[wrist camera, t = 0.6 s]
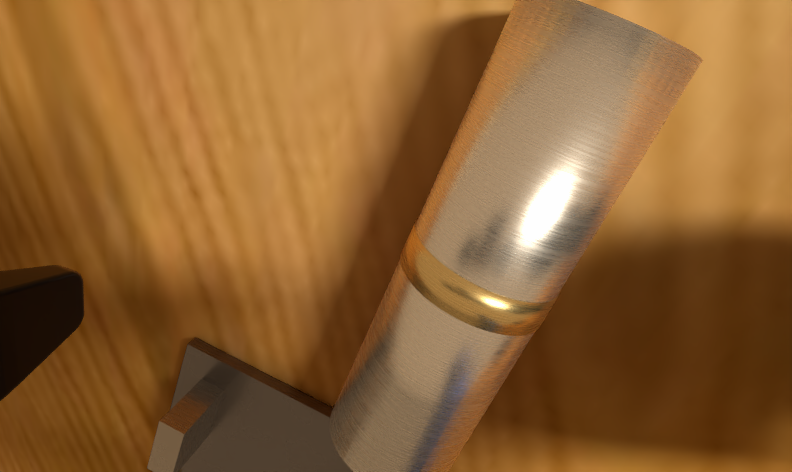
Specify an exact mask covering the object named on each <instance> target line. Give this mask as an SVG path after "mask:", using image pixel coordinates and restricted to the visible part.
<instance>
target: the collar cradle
mask: <svg viewBox="0 0 792 472" xmlns="http://www.w3.org/2000/svg"><path fill="white" fill-rule="evenodd" d="M332 410H333V408H331V407H329V406H327V405H326V404H324V403H322V402H320V401H318V400H316V399H314V398H312V397H310V396H308V395H306V394H304V393H302V392H300V391H298V390H296V389H294V388H293V387H291V386H289V385H287V384H285V383H283V382H281V381H279V380H277V379H275V378H273V377H271V376H269V375H267V374H265V373H263V372H261V371H259V370H258V369H256V368H254V367H252V366H250V365H248V364H246V363H244V362H242V361H240V360H238V359H236V358H234V357H232V356H230V355H228V354H226V353H225V352H223V351H221V350H219V349H217V348H215V347H213V346H211V345H209V344H207V343H205V342H203V341H201V340H199V339H197V338H194V339H193V340H192V341H191V342H190V343H188V345H187V348H186V352H185V356H184V360H183V363H182V367H181V371H180V375H179V378H178V382H177V386H176V390H175V393H174V397H173V401H172V405H171V408H170V411H169V412H168V413H167V414H166V415H165V416H164V417H163V418H162V419H161V420H160V421H159V424H158V428H157V432H156V435H155V439H154V443H153V447H152V451H151V455H150V459H149V463H148V466H147V469H149V470H151V471H153V472H353V471H352V470H351V469H350V468H349V467H348V466H347V464H346V463H345V462H344V461H343V459H342V458H341V456H340V455H339V454H338V452H337V450H336V448H335V446H334V443H333V440H332V437H331V432H330V417H331V413H332Z"/></svg>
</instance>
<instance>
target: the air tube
mask: <svg viewBox="0 0 792 472" xmlns="http://www.w3.org/2000/svg"><path fill="white" fill-rule="evenodd" d="M702 61H703V60H702V58H701V57H699V56H698V55H697V54H695V53H693V52H692V51H690V50H688V49H687V48H685V47H683V46H681V45H679V44H677V43H675V42H673V41H671V40H669V39H667V38H665V37H663V36H661V35H659V34H657V33H655V32H652V31H650V30H648V29H646V28H644V27H641V26H639V25H637V24H635V23H632V22H630V21H628V20H625V19H623V18H620V17H618V16H616V15H613V14H611V13H608V12H606V11H603V10H601V9H598V8H596V7H593V6H591V5H588V4H585V3H583V2H580V1H577V0H516V1H515V3H514V5H513V8H512V10H511V12H510V14H509V17H508V19H507V21H506V23H505V26H504V28H503V30H502V32H501V34H500V37H499V39H498V41H497V43H496V46H495V48H494V50H493V52H492V55H491V57H490V59H489V61H488V64H487V66H486V68H485V70H484V72H483V75H482V77H481V79H480V81H479V84H478V86H477V88H476V90H475V93H474V95H473V97H472V99H471V102H470V104H469V106H468V108H467V110H466V113H465V115H464V117H463V119H462V122H461V124H460V126H459V128H458V131H457V133H456V135H455V137H454V140H453V142H452V144H451V146H450V149H449V151H448V153H447V155H446V157H445V160H444V162H443V164H442V166H441V169H440V171H439V173H438V175H437V178H436V180H435V182H434V184H433V187H432V189H431V191H430V193H429V195H428V198H427V200H426V202H425V204H424V207H423V209H422V211H421V213H420V216H419V218H418V219H416V221H415V223H414V225H413V227H412V230H411V232H410V234H409V236H408V239H407V241H406V243H405V245H404V248H403V250H402V252H401V255H400V260H399V263H398V265H397V267H396V269H395V272H394V274H393V276H392V278H391V280H390V283H389V285H388V287H387V289H386V292H385V294H384V296H383V298H382V301H381V303H380V305H379V307H378V310H377V312H376V314H375V316H374V319H373V321H372V323H371V325H370V327H369V330H368V332H367V334H366V336H365V339H364V341H363V343H362V345H361V348H360V350H359V352H358V354H357V357H356V359H355V361H354V363H353V365H352V368H351V370H350V372H349V374H348V377H347V379H346V381H345V383H344V386H343V388H342V390H341V392H340V395H339V397H338V399H337V401H336V404H335V406H334V408H333V410H332V413H331V417H330V432H331V437H332V440H333V443H334V446H335V448H336V450H337V452H338V454H339V455H340V456H341V458H342V459H343V461H344V462H345V463H346V464H347V466H348V467H349V468H350V469H351V470H352V471H353V472H448V471H449V470H450V468H451V466H452V465H453V463H454V462H455V460H456V458H457V457H458V455H459V454H460V452H461V450H462V449H463V447H464V445H465V444H466V442H467V441H468V439H469V437H470V436H471V434H472V433H473V431H474V429H475V428H476V426H477V424H478V423H479V421H480V420H481V418H482V416H483V415H484V413H485V412H486V410H487V408H488V407H489V405H490V404H491V402H492V400H493V399H494V397H495V395H496V394H497V392H498V391H499V389H500V387H501V386H502V384H503V383H504V381H505V379H506V378H507V376H508V374H509V373H510V371H511V370H512V368H513V366H514V365H515V363H516V362H517V360H518V358H519V357H520V355H521V353H522V352H523V350H524V349H525V347H526V345H527V344H528V342H529V341H530V339H531V337H532V336H533V334H534V332H535V331H537V329H538V328H539V327H540V326H541V324H542V323H543V321H544V319H545V318H546V316H547V315H548V313H549V311H550V310H551V308H552V307H553V305H554V303H555V302H556V300H557V299H558V297H559V295H560V290H561V289H562V287H563V286H564V284H565V282H566V281H567V279H568V278H569V276H570V274H571V273H572V271H573V269H574V268H575V266H576V265H577V263H578V261H579V260H580V258H581V257H582V255H583V253H584V252H585V250H586V248H587V247H588V245H589V244H590V242H591V240H592V239H593V237H594V236H595V234H596V232H597V231H598V229H599V227H600V226H601V224H602V223H603V221H604V219H605V218H606V216H607V215H608V213H609V211H610V210H611V208H612V206H613V205H614V203H615V202H616V200H617V198H618V197H619V195H620V194H621V192H622V190H623V189H624V187H625V185H626V184H627V182H628V181H629V179H630V177H631V176H632V174H633V173H634V171H635V169H636V168H637V166H638V164H639V163H640V161H641V160H642V158H643V156H644V155H645V153H646V152H647V150H648V148H649V147H650V145H651V143H652V142H653V140H654V139H655V137H656V135H657V134H658V132H659V131H660V129H661V127H662V126H663V124H664V122H665V121H666V119H667V118H668V116H669V114H670V113H671V111H672V110H673V108H674V106H675V105H676V103H677V101H678V100H679V98H680V97H681V95H682V93H683V92H684V90H685V89H686V87H687V85H688V84H689V82H690V80H691V79H692V77H693V76H694V74H695V72H696V71H697V69H698V68H699V66H700V64H701V63H702Z"/></svg>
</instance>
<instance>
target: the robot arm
mask: <svg viewBox="0 0 792 472" xmlns="http://www.w3.org/2000/svg"><path fill="white" fill-rule="evenodd" d="M83 316H84V294H83V279H82V277H81V275H80V274H79V273H78V272H76V271H73V270H71V269H68V268H65V267H62V266H58V265H52V266H43V267H34V268H25V269H16V270H7V271H0V401H1V400H2V399H3V398H4V397H6V396H7V395H8V394H9V393H10V392H11V391H12V390H13V389H14V388H15V387H17V386H18V385H19V384H20V383H21V382H22V381H23V380H24V379H25V378H26V377H27V376H28V375H29V374H30V373H31V372H32V371H33V370H34V369H35V368H36V367H37V366H38V365H39V364H41V363H42V362H43V361H44V360H45V359H46V358H47V357H48V356H49V355H50V354H51V353H52V352H53V351H54V350H55V349H56V348H57V347H58V346H59V345H60V344H61V343H62V342H63V341H64V340H65V339H66V338H68V337H69V336H70V335H71V334H72V333H73V332H74V331H75V330H76V329H77V328H78V326H79V325H80V323H81V322H82V319H83Z"/></svg>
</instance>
